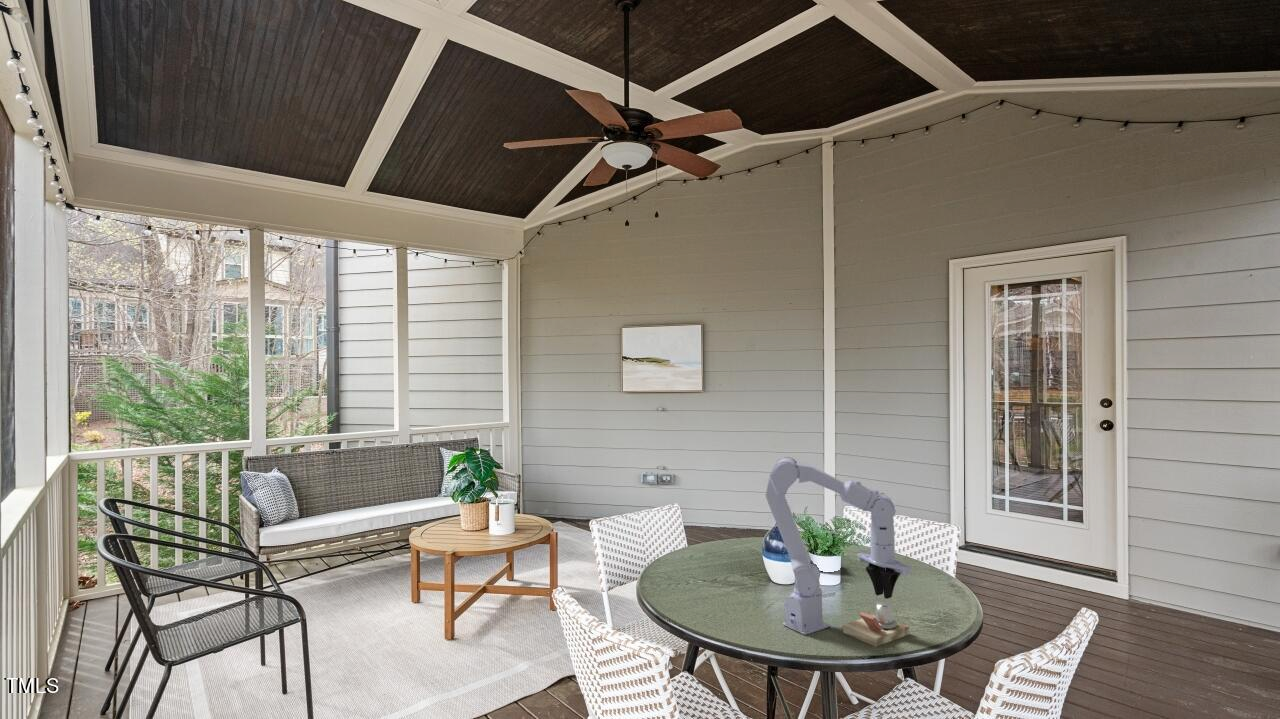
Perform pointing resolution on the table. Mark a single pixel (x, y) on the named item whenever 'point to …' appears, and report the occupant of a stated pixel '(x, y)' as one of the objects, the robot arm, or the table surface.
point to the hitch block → (874, 632)
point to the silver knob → (885, 616)
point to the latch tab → (871, 621)
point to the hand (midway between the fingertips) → (883, 596)
